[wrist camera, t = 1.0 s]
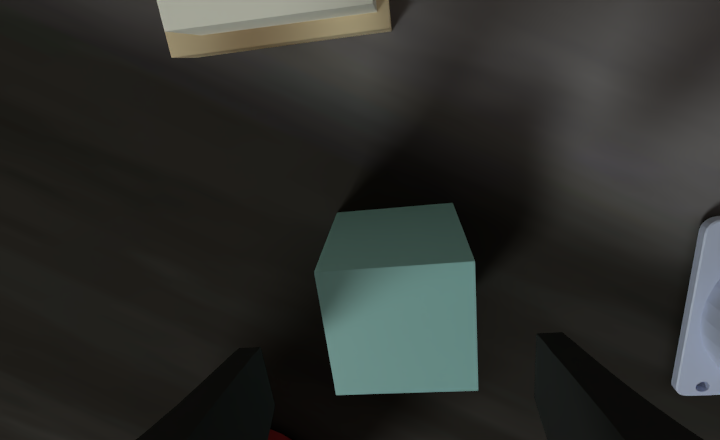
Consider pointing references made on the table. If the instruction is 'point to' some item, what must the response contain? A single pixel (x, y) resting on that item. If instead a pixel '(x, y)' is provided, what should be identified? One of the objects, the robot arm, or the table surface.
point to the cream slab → (251, 13)
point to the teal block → (399, 301)
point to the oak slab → (280, 34)
